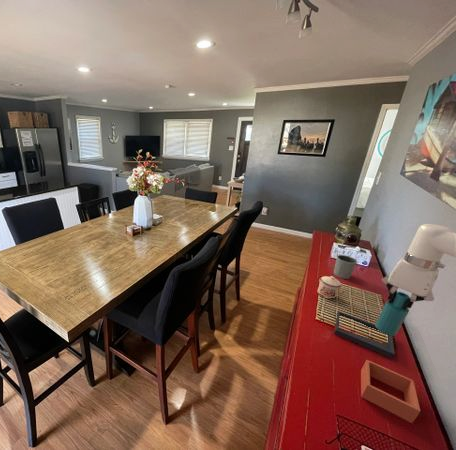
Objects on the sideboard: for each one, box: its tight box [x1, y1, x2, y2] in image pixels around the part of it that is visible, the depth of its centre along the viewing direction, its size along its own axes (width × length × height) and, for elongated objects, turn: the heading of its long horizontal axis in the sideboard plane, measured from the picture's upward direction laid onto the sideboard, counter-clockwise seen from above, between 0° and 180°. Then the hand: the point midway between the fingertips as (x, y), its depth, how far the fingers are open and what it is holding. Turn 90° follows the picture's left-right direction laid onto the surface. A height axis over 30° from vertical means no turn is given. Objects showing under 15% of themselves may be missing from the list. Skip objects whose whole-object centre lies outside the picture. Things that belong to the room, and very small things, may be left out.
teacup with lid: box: [316, 275, 347, 299], centre depth 131 cm, size 12×9×12 cm
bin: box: [360, 359, 421, 424], centre depth 82 cm, size 13×13×6 cm
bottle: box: [374, 291, 411, 337], centre depth 87 cm, size 6×6×16 cm
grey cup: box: [333, 254, 358, 280], centre depth 151 cm, size 10×10×12 cm
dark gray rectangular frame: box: [333, 310, 396, 359], centre depth 107 cm, size 20×16×3 cm
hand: (398, 304), depth 86 cm, fingers closed on bottle, 3 cm apart
